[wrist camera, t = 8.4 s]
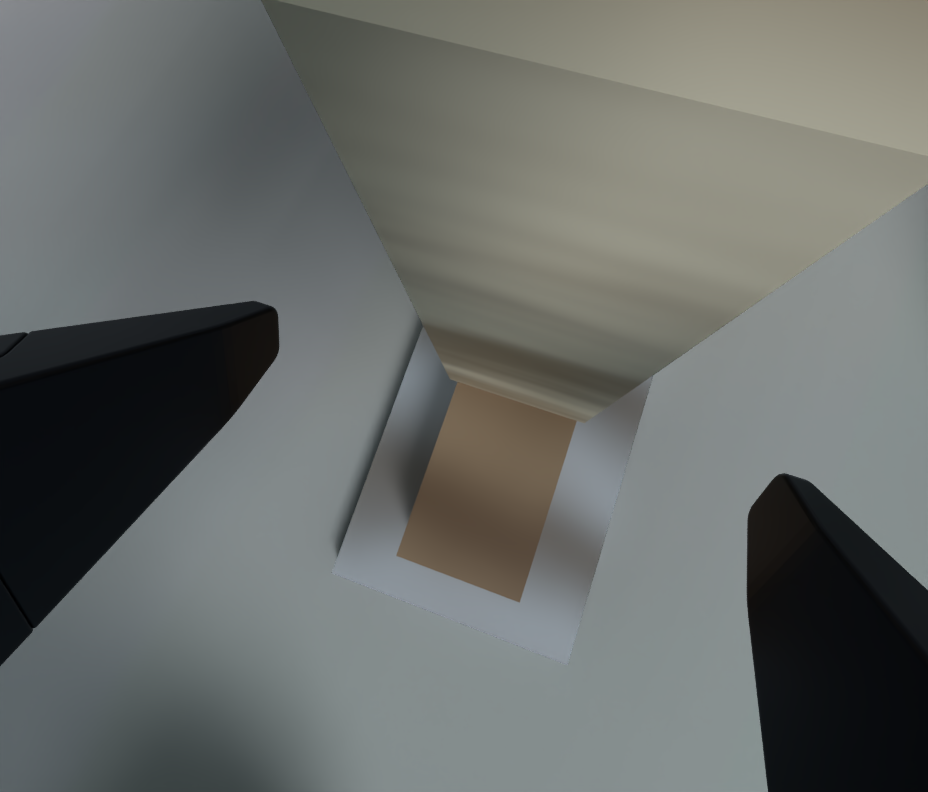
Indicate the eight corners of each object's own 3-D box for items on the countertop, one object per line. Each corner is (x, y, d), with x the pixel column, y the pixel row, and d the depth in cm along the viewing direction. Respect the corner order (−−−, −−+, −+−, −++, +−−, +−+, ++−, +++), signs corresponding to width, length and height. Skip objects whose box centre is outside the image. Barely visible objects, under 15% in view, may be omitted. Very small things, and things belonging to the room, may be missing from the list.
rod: (584, 423, 16) (955, 163, 3) (450, 379, 16) (259, -4, 3) (624, 293, 16) (1083, -400, 3) (494, 255, 17) (472, -462, 4)
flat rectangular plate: (563, 655, 18) (581, 703, 14) (340, 568, 19) (299, 590, 15) (706, 178, 21) (753, 108, 17) (502, 125, 22) (503, 48, 18)
